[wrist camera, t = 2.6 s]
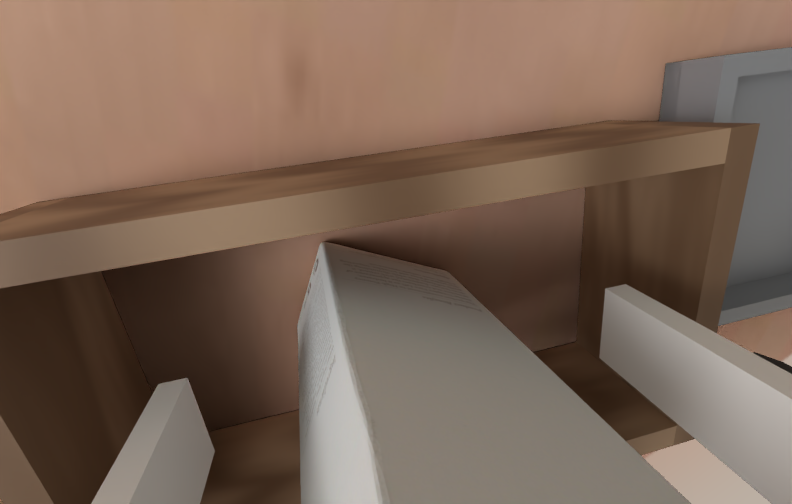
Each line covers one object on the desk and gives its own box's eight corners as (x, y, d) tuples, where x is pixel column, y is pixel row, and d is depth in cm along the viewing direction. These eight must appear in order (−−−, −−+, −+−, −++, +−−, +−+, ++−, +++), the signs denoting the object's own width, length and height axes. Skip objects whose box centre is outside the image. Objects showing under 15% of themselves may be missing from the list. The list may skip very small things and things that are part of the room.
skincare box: (295, 328, 17) (277, 753, 6) (321, 231, 16) (363, 521, 4) (424, 349, 19) (605, 701, 7) (456, 264, 17) (726, 528, 6)
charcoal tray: (636, 311, 21) (677, 336, 18) (665, 63, 16) (724, 55, 14) (815, 269, 23) (872, 286, 20) (883, 37, 18) (965, 26, 16)
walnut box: (154, 463, 17) (86, 625, 12) (37, 202, 13) (-157, 265, 8) (591, 353, 21) (694, 438, 15) (610, 120, 17) (759, 123, 11)
